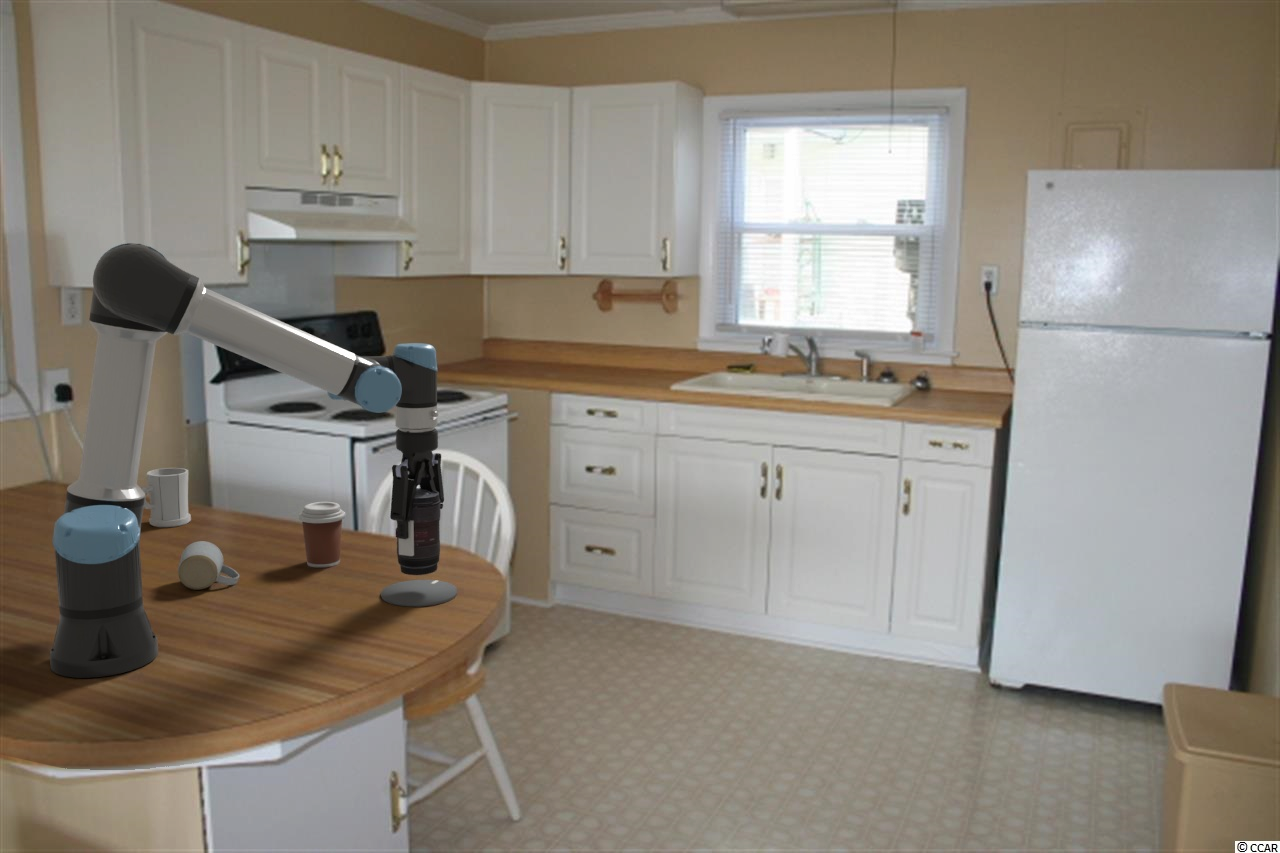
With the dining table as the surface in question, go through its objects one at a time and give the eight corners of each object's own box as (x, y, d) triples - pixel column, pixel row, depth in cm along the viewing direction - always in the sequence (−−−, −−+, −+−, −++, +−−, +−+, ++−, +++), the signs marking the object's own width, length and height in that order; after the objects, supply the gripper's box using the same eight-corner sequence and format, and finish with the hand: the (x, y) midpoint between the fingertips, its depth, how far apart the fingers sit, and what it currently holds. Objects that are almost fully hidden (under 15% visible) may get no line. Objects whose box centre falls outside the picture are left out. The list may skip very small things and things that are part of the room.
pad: (433, 610, 195) (433, 607, 195) (366, 601, 199) (366, 597, 199) (470, 587, 208) (470, 584, 208) (406, 579, 213) (406, 575, 212)
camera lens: (413, 580, 197) (412, 499, 195) (388, 570, 203) (386, 492, 200) (449, 570, 203) (449, 492, 201) (424, 561, 209) (423, 485, 206)
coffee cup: (312, 572, 216) (310, 513, 214) (292, 561, 222) (290, 504, 220) (354, 564, 222) (353, 506, 219) (334, 553, 228) (332, 498, 226)
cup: (178, 530, 244) (175, 478, 242) (137, 529, 244) (134, 477, 242) (197, 518, 254) (195, 468, 252) (158, 517, 254) (156, 467, 252)
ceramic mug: (177, 593, 202) (175, 553, 200) (181, 579, 209) (180, 541, 208) (238, 589, 205) (237, 550, 204) (240, 576, 212) (239, 538, 211)
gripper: (404, 439, 187) (407, 566, 191) (462, 421, 207) (463, 536, 211) (367, 436, 190) (370, 561, 194) (427, 418, 209) (429, 532, 213)
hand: (418, 548), depth 202 cm, fingers closed on camera lens, 8 cm apart
